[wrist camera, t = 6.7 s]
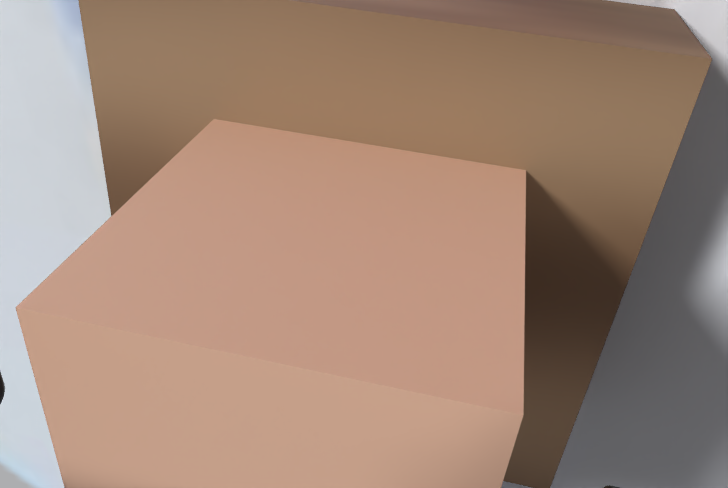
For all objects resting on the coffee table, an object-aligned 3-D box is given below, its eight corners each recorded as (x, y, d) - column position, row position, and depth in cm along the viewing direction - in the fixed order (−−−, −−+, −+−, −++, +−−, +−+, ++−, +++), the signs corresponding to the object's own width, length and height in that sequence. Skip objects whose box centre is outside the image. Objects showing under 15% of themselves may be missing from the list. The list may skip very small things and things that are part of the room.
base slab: (545, 396, 18) (548, 490, 15) (190, 322, 19) (139, 398, 16) (674, 9, 12) (712, 59, 10) (158, -58, 13) (73, -30, 11)
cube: (470, 400, 14) (442, 676, 10) (225, 348, 15) (91, 583, 10) (525, 170, 11) (522, 414, 6) (214, 118, 12) (15, 307, 7)
